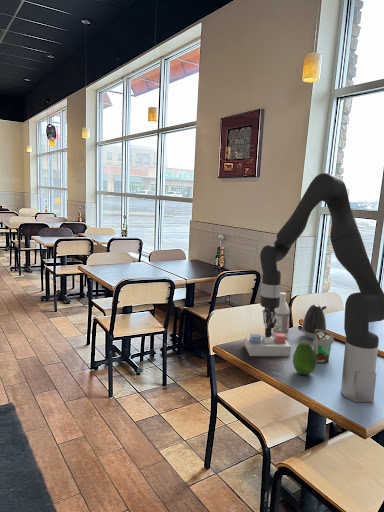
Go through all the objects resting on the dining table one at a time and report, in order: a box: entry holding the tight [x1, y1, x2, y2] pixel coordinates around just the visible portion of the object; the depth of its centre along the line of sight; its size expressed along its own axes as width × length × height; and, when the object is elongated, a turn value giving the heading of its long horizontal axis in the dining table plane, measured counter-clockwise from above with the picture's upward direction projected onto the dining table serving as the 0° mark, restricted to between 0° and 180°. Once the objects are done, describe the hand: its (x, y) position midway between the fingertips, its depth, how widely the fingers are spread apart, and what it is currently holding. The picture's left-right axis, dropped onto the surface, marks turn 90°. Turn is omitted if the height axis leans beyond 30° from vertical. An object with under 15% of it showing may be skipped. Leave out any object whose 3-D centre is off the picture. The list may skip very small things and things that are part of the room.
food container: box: [313, 329, 334, 365], centre depth 142 cm, size 12×6×10 cm, turn 168°
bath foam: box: [271, 291, 291, 340], centre depth 164 cm, size 7×7×20 cm
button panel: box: [244, 336, 292, 357], centre depth 149 cm, size 10×16×4 cm, turn 93°
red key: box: [274, 333, 287, 344], centre depth 149 cm, size 3×3×4 cm
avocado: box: [292, 340, 317, 376], centre depth 129 cm, size 8×8×12 cm
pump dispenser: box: [301, 304, 327, 340], centre depth 164 cm, size 10×10×15 cm
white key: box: [261, 334, 273, 344], centre depth 149 cm, size 3×3×4 cm
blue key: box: [249, 333, 262, 343], centre depth 148 cm, size 3×3×4 cm
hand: (267, 336), depth 149 cm, fingers closed
